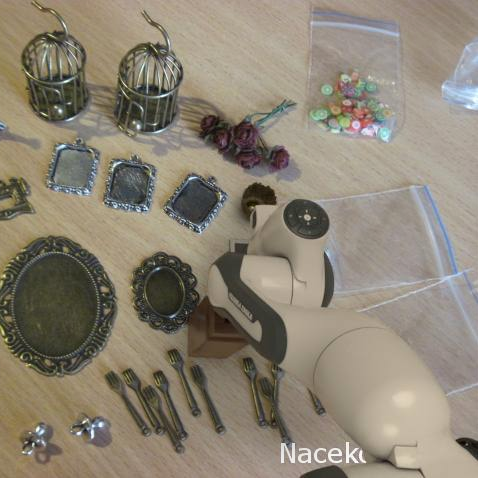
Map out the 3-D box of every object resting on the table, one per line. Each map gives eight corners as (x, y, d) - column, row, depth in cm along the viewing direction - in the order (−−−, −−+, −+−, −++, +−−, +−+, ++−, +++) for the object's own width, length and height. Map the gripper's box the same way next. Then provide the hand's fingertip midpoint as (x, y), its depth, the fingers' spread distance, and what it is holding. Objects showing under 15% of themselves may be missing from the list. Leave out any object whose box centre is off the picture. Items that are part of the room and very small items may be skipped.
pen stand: (226, 358, 113) (259, 338, 90) (187, 356, 112) (211, 336, 89) (225, 320, 116) (258, 290, 92) (188, 318, 115) (211, 287, 92)
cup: (271, 205, 126) (282, 190, 118) (260, 232, 123) (270, 219, 116) (241, 192, 126) (250, 176, 119) (229, 218, 124) (238, 204, 116)
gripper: (295, 312, 91) (270, 327, 104) (289, 199, 98) (267, 226, 111) (258, 310, 91) (238, 325, 104) (254, 196, 98) (236, 224, 111)
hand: (253, 273), depth 108 cm, fingers closed
